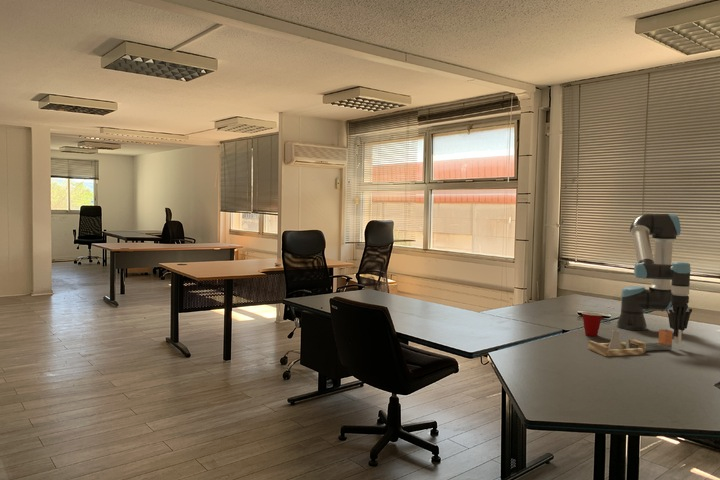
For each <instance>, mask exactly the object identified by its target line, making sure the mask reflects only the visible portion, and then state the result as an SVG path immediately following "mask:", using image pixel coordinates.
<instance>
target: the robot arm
mask: <svg viewBox="0 0 720 480" xmlns="http://www.w3.org/2000/svg"><path fill="white" fill-rule="evenodd" d="M681 229H682V228H681V222H680V218H679V216H678V215H677V214H674V213H673V214H672V213H643V214H641V215H638V216H637V217H636V218H634V220H633V221H632V222H631V224H630V226H629V233H630V236H631V237H632V239H633V244H634V250H635V257H636V262H637V263H635V264H634V266H633V267H634V269H633V272H634V274H633V275H634V277H635V278H637V279H643V280H645V279H646V280H648V279H649V280H652V283H651V284H649V286H648V289H646V287H645V286H640V285H639V286H638V285H635V286H633V285H632V286H631V285H630V286H626V287H623V288H622V290H621V303H620V314H619V316H618V320H617V322H616V327H617V328H620V329H624V330H630V331H645V330H647V327H648V326H647V322H646V319H645V316H644V315H645V311H656V312H666V313H667V317H668V323H669V324H668V325H669V328H670V329H672V330H673V339H674V341H673V343H674V344H677V345H681V344H682V337H683V331H685V330H686V329H687V328H688V324H689V321H690V316H691V313H692V312H693V309H692V308H689V305H688V304H689V303H690V296H689V295H690V284H691V283H690V282H691V271H692V269H691V264H690V263H689V262H684V261H681V262H680V261H675V262H673V263H672V259H673V243H674V241H676V240H677V236H678V237H679V236H680V235H681ZM650 235H651V238H652V240H653V241H654V253H653V250H652V246H651V241H650Z"/></svg>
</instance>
